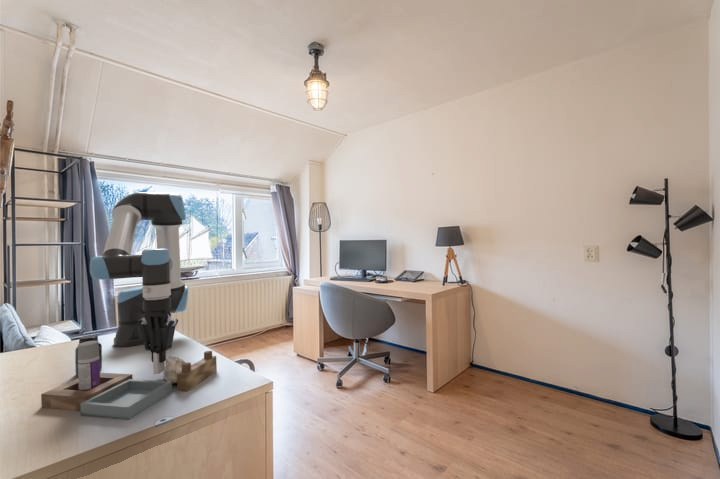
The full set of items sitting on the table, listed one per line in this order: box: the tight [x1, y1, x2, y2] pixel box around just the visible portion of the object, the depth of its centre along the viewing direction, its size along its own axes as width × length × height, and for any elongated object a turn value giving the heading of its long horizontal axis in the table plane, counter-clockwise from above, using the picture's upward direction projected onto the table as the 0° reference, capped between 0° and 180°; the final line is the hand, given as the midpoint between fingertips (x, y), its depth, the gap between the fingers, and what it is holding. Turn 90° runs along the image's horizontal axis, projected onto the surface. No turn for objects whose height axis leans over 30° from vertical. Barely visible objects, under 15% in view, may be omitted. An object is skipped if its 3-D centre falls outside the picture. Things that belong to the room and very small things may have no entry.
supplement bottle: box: [74, 334, 103, 377], centre depth 108 cm, size 7×7×12 cm
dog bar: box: [176, 350, 218, 392], centre depth 100 cm, size 14×3×7 cm, turn 170°
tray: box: [80, 379, 173, 420], centre depth 87 cm, size 14×14×3 cm
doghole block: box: [40, 372, 133, 411], centre depth 92 cm, size 14×14×4 cm
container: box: [77, 340, 101, 391], centre depth 92 cm, size 5×5×15 cm
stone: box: [162, 355, 187, 385], centre depth 101 cm, size 8×12×10 cm, turn 36°
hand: (159, 372), depth 102 cm, fingers closed
